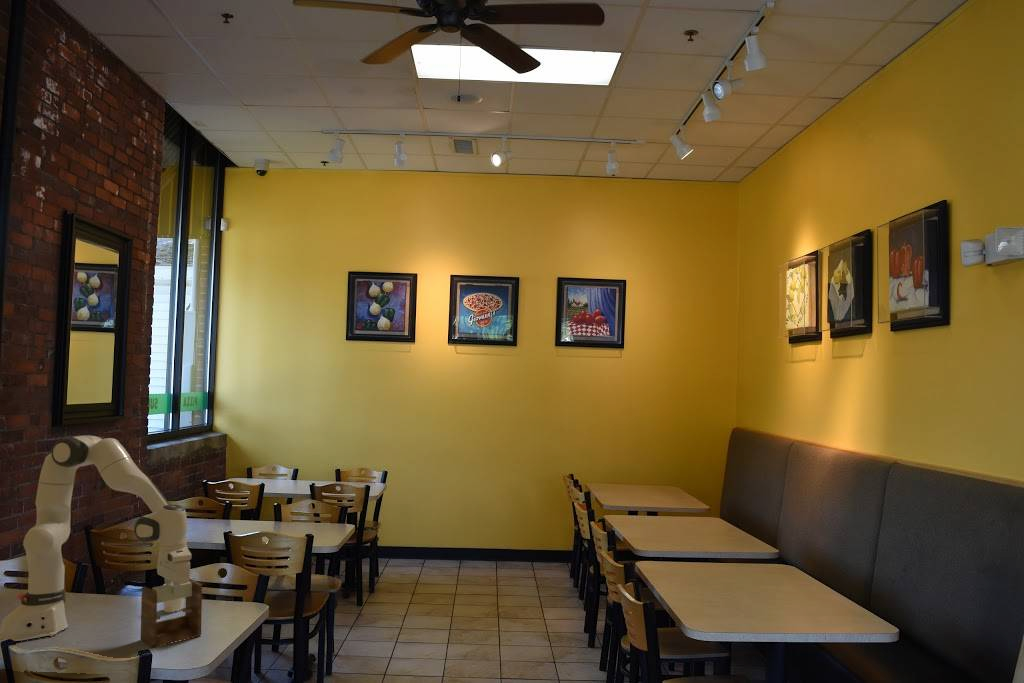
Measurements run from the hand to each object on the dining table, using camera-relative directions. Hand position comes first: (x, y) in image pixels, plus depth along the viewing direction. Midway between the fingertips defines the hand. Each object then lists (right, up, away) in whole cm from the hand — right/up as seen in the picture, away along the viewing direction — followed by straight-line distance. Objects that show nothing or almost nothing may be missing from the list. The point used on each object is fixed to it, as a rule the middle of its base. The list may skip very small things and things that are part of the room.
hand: (172, 592), depth 263 cm
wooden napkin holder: (0, -16, -1) cm, 16 cm away
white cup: (-14, -18, +31) cm, 38 cm away
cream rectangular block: (0, -2, 0) cm, 2 cm away
